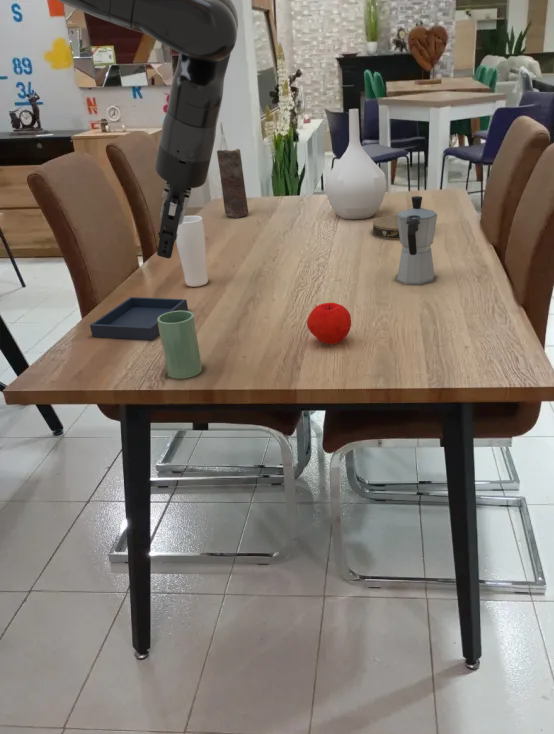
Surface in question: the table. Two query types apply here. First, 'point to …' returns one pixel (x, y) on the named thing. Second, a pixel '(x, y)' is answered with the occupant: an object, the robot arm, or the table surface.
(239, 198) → the candle
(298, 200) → the table surface
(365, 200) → the vase
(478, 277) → the table surface
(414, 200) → the coffee maker
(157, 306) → the tray
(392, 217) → the tambourine
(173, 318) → the cup
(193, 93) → the robot arm
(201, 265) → the drinking glass
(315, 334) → the apple
